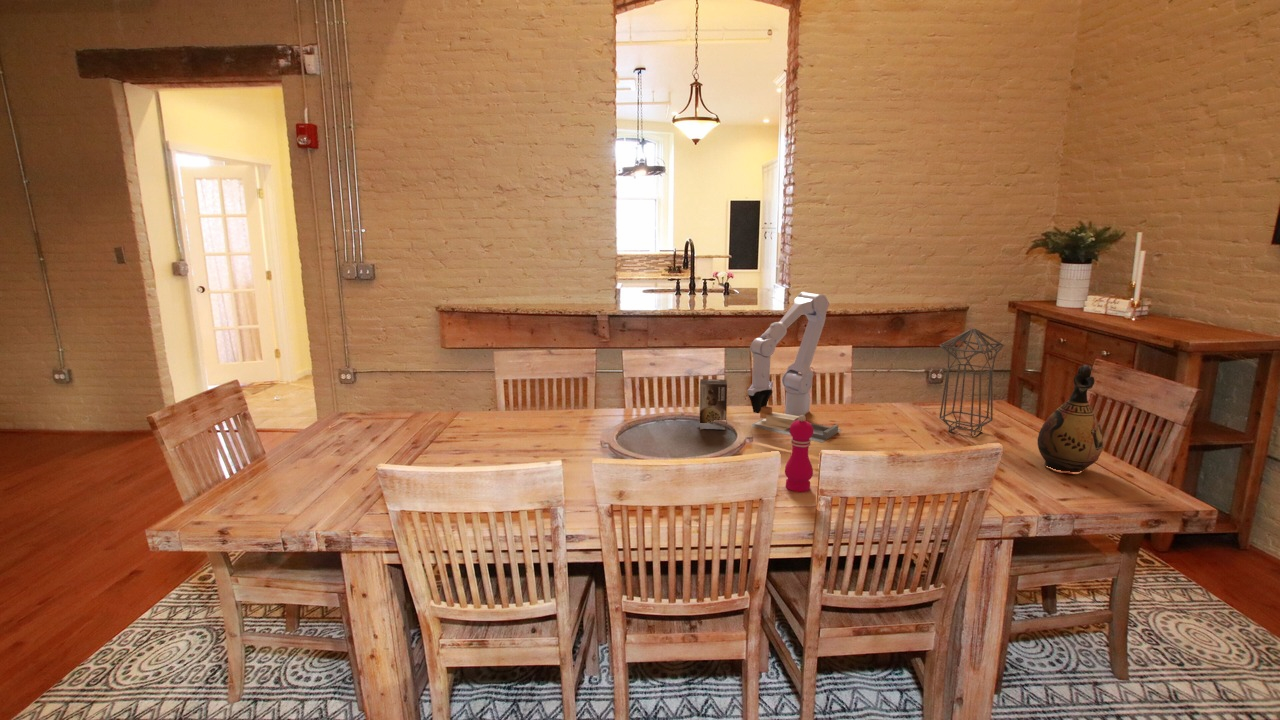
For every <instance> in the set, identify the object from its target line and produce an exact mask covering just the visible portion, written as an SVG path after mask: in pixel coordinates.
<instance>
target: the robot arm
mask: <svg viewBox="0 0 1280 720" xmlns="http://www.w3.org/2000/svg"><path fill="white" fill-rule="evenodd" d="M829 306H830V302H829V300H828V298H827V296H826V295H825V294H822V293H820V294H818V293H812V292H807V291H801V292H800V293H798V295H797V296H796V297H795V298H794V303H793V304H792V305H791V307H790V308H789V309H788V310H787V311H786V312H785V314H784V315H783V316H782V318H781V319H780V320H779V321H775V322H772V323H770V324H769V327H768V328H767V329H766V330H765V331H764V332H763V333H762V334H761V335H760V336H759V337H756V338H754V340H753V341H752V342H751V344H750V346H749V350H750V352H751V354H752V356H751V357H752V359H753V360H752V361H753V362H752V376H751V377H752V381H751V382H752V383H751V385H750V387H749V388H747V393H746V395H747V396H748V398H749V400H750V402H751V407H752V412H753V413H754V414H760V410H761V407H763V406H768V405H767V404H768V402H769V399H770V397H771V396H772V394H773V390H772V389H773V387H774V382H773V381H770V373H771V372H770V370H771V356H772V355H773V354H774V353H775V350H776V347H777V345H778V344H779V342H780V341H781V340H782V339H784V337H785V336H786V335H787V331H788V328H789V327H790V326H791V325H793V323H794V322H796V321H797V320H798V319H799V318H800V317H801V316H802V315H804V316H805V317H806V319H807V320H808V321H807V324H806V326H805V331H804V333H803V336H802V340H801V342H800V345H799V348H798V351H797V354H796V357H795V360H794V362H793V363H791V364H790V365H789V366H787V369H786V371H785V372H784V373H783V375H782V378H781V384H782V385H783V387H784V390H785V404H784V405H785V407H784V408H785V409H784V414H788V415H794V416H800V415H804V416H806V414H808V413H809V412H810V403H811V395H810V393H809V392H810V390H811V389H812V387H813V378H814V372H813V371H812V370H811V364H812V361H813V359H814V355H815V352H816V349H817V346H818V343H819V340H820V338H821V335H822V332H823V329H824V326H825V322H826V319H827V311H828V309H829Z"/></svg>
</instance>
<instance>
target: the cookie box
mask: <svg viewBox="0 0 1280 720" xmlns="http://www.w3.org/2000/svg"><path fill="white" fill-rule="evenodd" d="M727 402H728V381H727V379H720V378H719V379H714V378H707V379H706V378H700V381H699V421H700V423H707V422H711V421H714V420H726V421H727V407H728V405H727V404H728V403H727Z"/></svg>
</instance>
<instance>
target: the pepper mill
mask: <svg viewBox="0 0 1280 720" xmlns="http://www.w3.org/2000/svg"><path fill="white" fill-rule="evenodd" d="M810 423H811V422H809V421H807V420H806V415H800V416H799V420H797V421H795V422H793V423H792V424H791V426H790V434H791V435H790V436H791V438H790V444H791V445H792V446H791V447H792V449H791V454H790V457H788V458H789V459H788V461H787V462H786V464H785V469H784V474H785V476H786V480H785V487H786V489H788V490H789V491H791V492H795V493H806V492H808V491H810V489H811V481H810V480H811V479H812V477H813V476H814V471H813V470H814V469H813V465H812V463H811V459H810V457H809V448H810V447H809V446H811V441H812V440H810V438H811V437H812V435H813V427H812V425H811V424H810Z"/></svg>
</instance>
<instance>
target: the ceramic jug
mask: <svg viewBox="0 0 1280 720" xmlns="http://www.w3.org/2000/svg"><path fill="white" fill-rule="evenodd" d="M1092 370H1093V367H1092V366H1090V365H1088V364H1084V365H1081V366H1080V367H1079V368H1078V370H1077V373H1076V374H1075V375H1074V377H1073V384H1074V386H1073V390H1072V391H1073V392H1072V394H1071V396H1070V397H1069V399H1068V400H1066V401H1065V402H1063V403H1062V404H1061V405H1060V406H1058V408H1057V409H1055V410H1054V412H1052V413H1051V414H1050V415H1049V416H1048V417H1047V418H1046V419H1045V420H1044V423H1043V425H1041V426H1042V427H1040V430H1039V432H1038V435H1037V436H1038V437H1037V447H1038V451H1039V453H1040V455H1041V457H1042V458H1043V460H1044V466H1045V465H1046V466H1048V467H1051V468H1053V469H1056V470H1061V471H1070V472H1080V471H1083V470H1084V471H1085V470H1086V469H1087V468H1089V467H1090V466H1092V465H1093V464H1094V463H1096V462H1097V461H1098V460H1099V458H1100V456H1101V454H1102V452H1103V448H1104V439H1103V438H1104V435H1103V432H1102V431H1103V430H1102V428H1101V424H1100V423H1099V420H1098V419H1097V417H1096V414H1095V411H1094V410H1093V409H1092V407H1091V406H1090V402H1089V400H1088V395H1087V393H1088V390H1091V389H1093V387H1094V384H1095V378H1094V376H1091V373H1092Z"/></svg>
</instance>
